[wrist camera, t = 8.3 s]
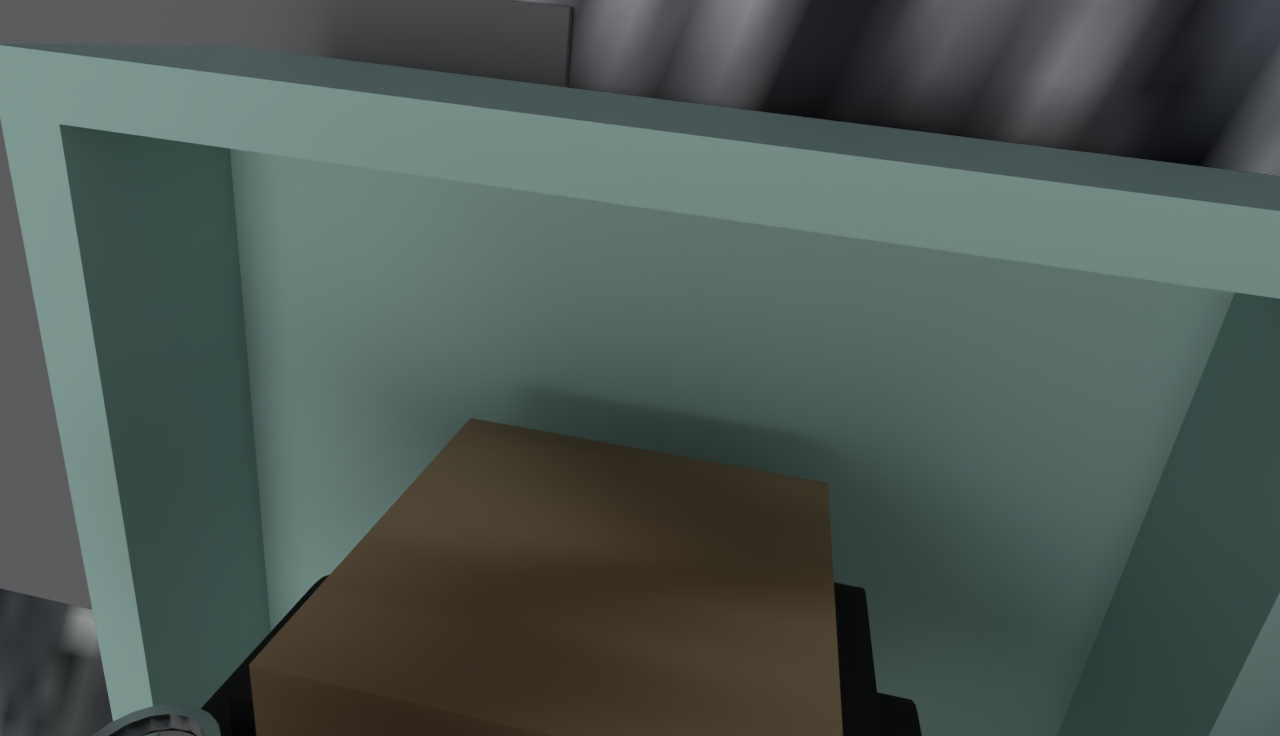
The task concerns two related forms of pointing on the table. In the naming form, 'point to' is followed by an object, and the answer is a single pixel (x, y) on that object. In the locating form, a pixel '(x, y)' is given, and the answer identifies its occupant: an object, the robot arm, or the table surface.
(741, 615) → the walnut block
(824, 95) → the table surface
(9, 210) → the dock mat
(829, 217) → the mint green cubby
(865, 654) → the robot arm
